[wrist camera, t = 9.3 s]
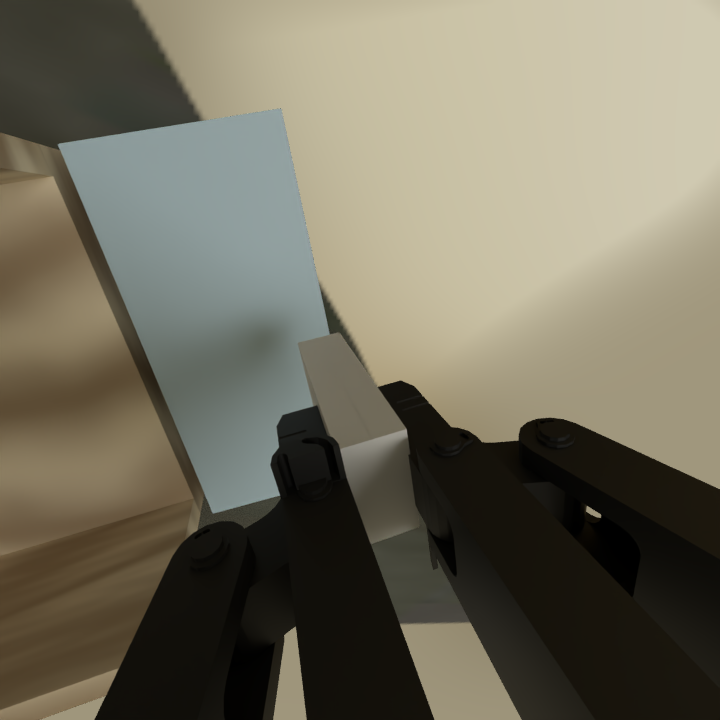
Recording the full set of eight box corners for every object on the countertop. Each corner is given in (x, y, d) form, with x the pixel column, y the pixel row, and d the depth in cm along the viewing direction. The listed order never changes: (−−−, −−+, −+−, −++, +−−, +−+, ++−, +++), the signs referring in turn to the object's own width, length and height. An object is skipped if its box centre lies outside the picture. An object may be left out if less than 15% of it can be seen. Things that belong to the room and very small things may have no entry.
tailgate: (57, 143, 16) (281, 108, 17) (80, 150, 18) (280, 117, 19) (212, 513, 23) (359, 473, 24) (217, 491, 25) (353, 455, 26)
